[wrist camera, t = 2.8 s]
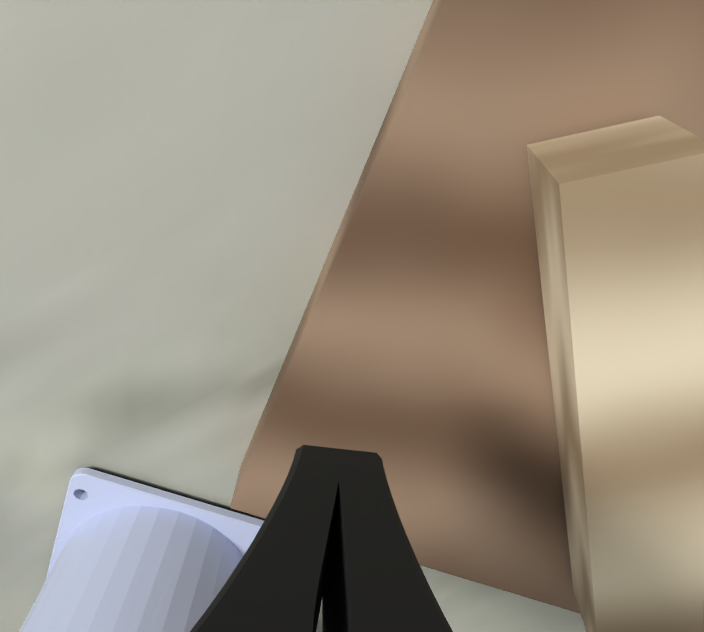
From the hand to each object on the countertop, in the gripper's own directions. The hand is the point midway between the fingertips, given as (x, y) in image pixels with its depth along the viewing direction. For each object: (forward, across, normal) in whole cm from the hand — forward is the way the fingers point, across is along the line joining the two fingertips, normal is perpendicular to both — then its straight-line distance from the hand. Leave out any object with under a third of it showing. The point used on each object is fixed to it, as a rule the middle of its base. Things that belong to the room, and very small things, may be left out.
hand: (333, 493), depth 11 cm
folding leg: (+7, -8, +3) cm, 11 cm away
